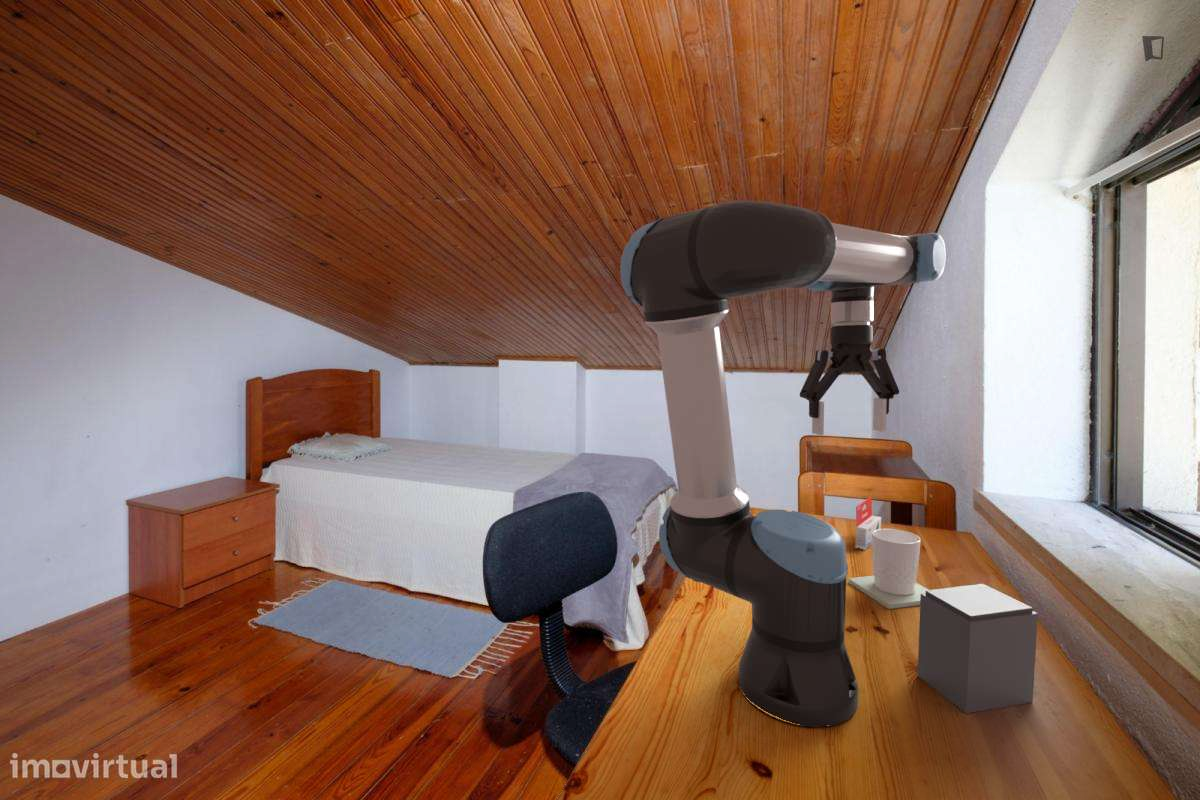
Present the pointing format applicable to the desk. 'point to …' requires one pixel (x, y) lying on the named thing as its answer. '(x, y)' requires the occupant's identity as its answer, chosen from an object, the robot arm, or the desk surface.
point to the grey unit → (977, 647)
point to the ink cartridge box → (865, 524)
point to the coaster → (885, 598)
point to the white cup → (895, 560)
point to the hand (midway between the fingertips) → (848, 432)
